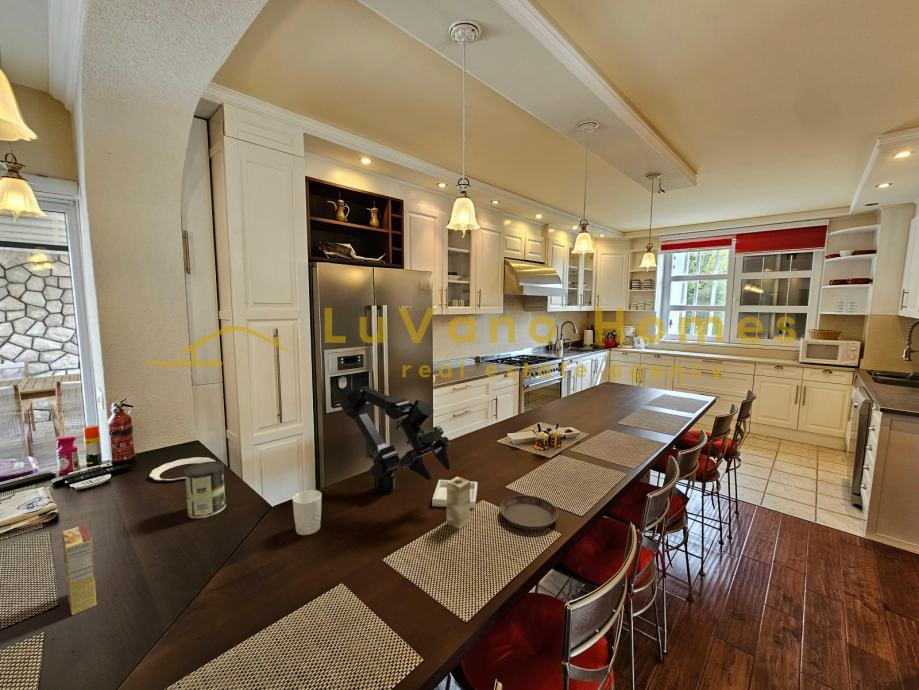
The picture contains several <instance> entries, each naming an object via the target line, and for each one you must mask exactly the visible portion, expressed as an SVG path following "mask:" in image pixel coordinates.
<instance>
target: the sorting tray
mask: <svg viewBox="0 0 919 690" xmlns="http://www.w3.org/2000/svg"><path fill="white" fill-rule="evenodd" d="M450 480H451V479H450ZM450 480H449V479H438V482H437V484H436V486H435V487H436V488H435V490H434V493H433V495H432V496H433V497H432V499H431V500H432V501H431V502H432V504H431V505H432V507H440V508H447V482H449V481H450ZM477 493H478V481H470V510H471V509H472V510H475V509H476V502H477Z"/></svg>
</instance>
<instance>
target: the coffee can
mask: <svg viewBox="0 0 919 690" xmlns="http://www.w3.org/2000/svg"><path fill="white" fill-rule="evenodd" d="M224 473H225V472H224V463H223V462H221V461H216V460H215V461H211V462H204V463H195V464H194V465H191V466H189V467H188V468H186V469H185V470H184V475H185V476H184V477H185V487H186V503H187V516H188V517H189V518H191V519H204V518H205V519H206V518H209V517H211V516H214V515H218V514H219V513H220V512H222V511H224V510H225V508H226V507H227V504H226V493H225V492H226V491H225V478H224V477H225V475H224Z"/></svg>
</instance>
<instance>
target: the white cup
mask: <svg viewBox="0 0 919 690" xmlns="http://www.w3.org/2000/svg"><path fill="white" fill-rule="evenodd" d="M292 508H293V510H292V511H293V518H294V523H295V524H294V525H295V532H296V533H297V535H300V536H309V535H311V534H312V535H313V534H315V533H316V532H318V531H319V530H320V529H321V520H322V492H321V491H319V490H315V489H307V490H304V491H300V492H297V493H296V494H294V495H293V497H292Z"/></svg>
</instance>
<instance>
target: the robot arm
mask: <svg viewBox="0 0 919 690" xmlns="http://www.w3.org/2000/svg"><path fill="white" fill-rule="evenodd" d="M367 402H368V403H370V404H372V405H373V406H375V407H378V408H379V409H382V410H383V411H384V414H386V416H388V417H389V418H390V419H392V420H397V419H401V418H402V419H401V420H397V421H396V426H395V430H397V431H398V430H400V429H401V431H402V432H403V434H404V436H405V437H406V439H407V440H406V444H407V445H410V446H411V448H412V449H411V450H407V452H405V454H404V455H403V456H401V458H400V457H399V453H398V451H397V450H396V448H395V446H394V445H393V444H391V445H387V444H386V443H385V441H384V440H383V438H382V436H381V435H380V433H379V431H378V429H377V427H376V426H375V424H374V423H373V421H372V420H371V418H370V416H369V415H368V412H367V409H368V407H367V405H368V404H367ZM340 407H341V409H342V410H343V413H345V415H346V416H348V417H349V418H351V419H352V420H354V421H355V423H356V426H358V429H359V430H360V432H361V434H362V435H363V437H364V440H365V441H366V442H367V445H368V446H369V448H370V449H371V452H372V463H373V465H372V466H371V467H370V468H369V475H370V476H371V477H373V478H374V479H373V483H374V484H373V486H374V489H373V490H372V493H373V494H381V495H390V494H392V492H393V490H394V489H395V488H396V475H394V473H395V472H397V471H398V468H399V467H400V466H401V468H402V469H405V468H406V469H407V470H411V471H412V472H413V473H416V474H418V475H419V476H421V477H422V478H424V479H426V480H427V481H431V479H432V476H431V475H430V473H429V471H428V469H427V468H426V466H425V464H424V459H423V456H425V455H427V454H429V453H432V454H434V455H433V456H434V457H435V459H436V460H438V462H439V463H440V464H441V465H442V467H444V469H445V470H447V471H450V470H451V466H450V463H449V462H450V461H449V457H448V447H449V445H450V443H451V441H450V439H449V438H448V437H447V436H443V435H444V432H445V431H444V430H443V428H442V427H441V426H440V424H439V425H436V426H433V427H432V430H431V431H428V429H426V428H424V429H423V428H422V425H424V424H425V423H426V422H427V421H428V420H429V419H430V418H431V417H432V416H433V414H434V407H433V406H432V404H430V403H428V401H425V400H423V399H422V398H417V399H416V400H415V401H414V403H412V402H410V400H409V399H406V398H401V397H391V396H389V395H387V394H384V393H382V392H380V391H378V390H376V389H373V388H372V387H371V386H369V385H367V386H362V387H359V388H357V389H356V390H355V391H353V392H352V393H350V394H348V395H347V396H344V397H342V399H341V401H340Z"/></svg>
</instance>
